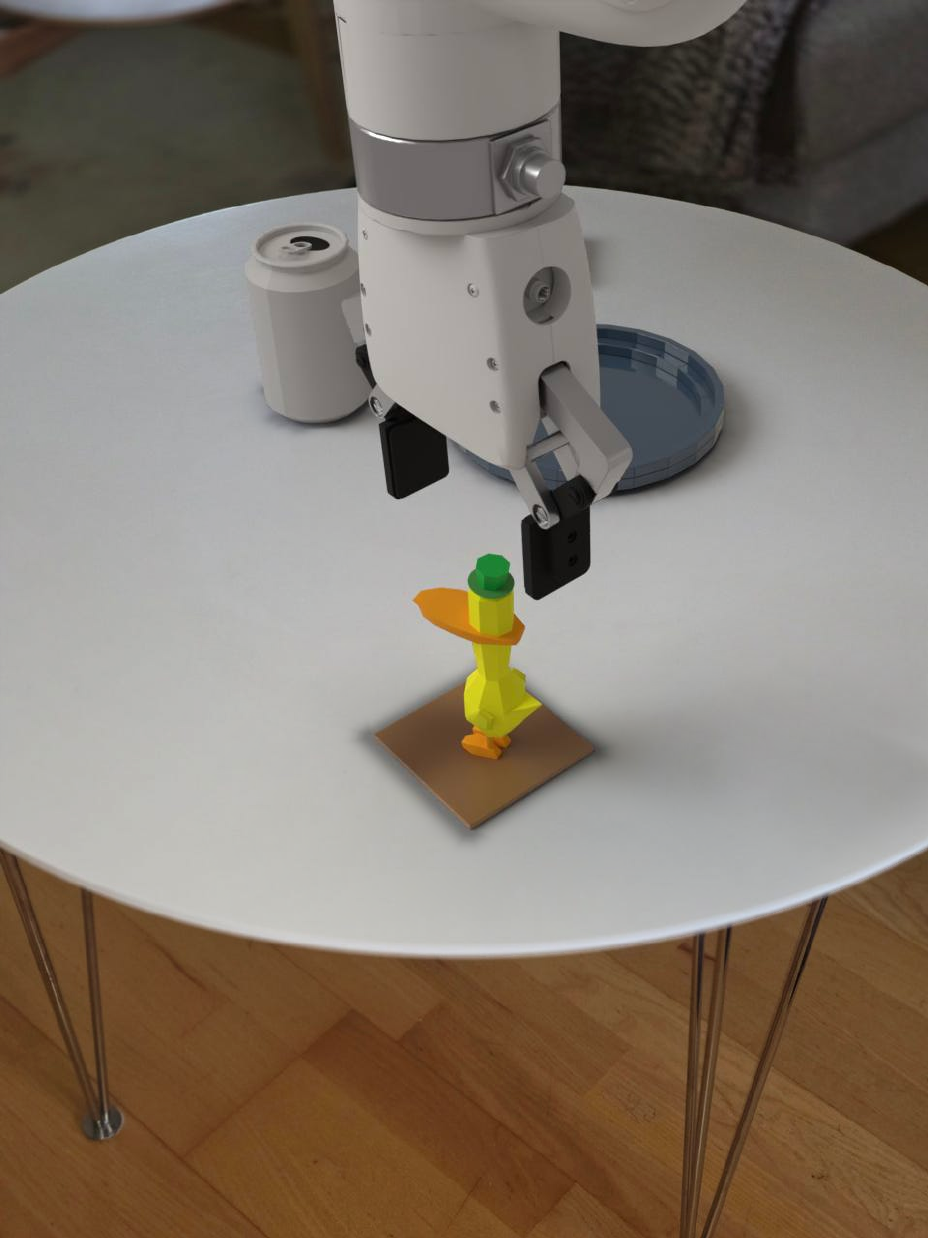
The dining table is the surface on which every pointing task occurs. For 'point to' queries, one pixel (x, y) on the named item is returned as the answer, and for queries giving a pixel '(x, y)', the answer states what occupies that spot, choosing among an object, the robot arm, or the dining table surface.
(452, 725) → the coaster
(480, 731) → the toy figure
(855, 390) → the dining table surface
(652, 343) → the plate
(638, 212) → the dining table surface
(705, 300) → the dining table surface
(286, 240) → the can
